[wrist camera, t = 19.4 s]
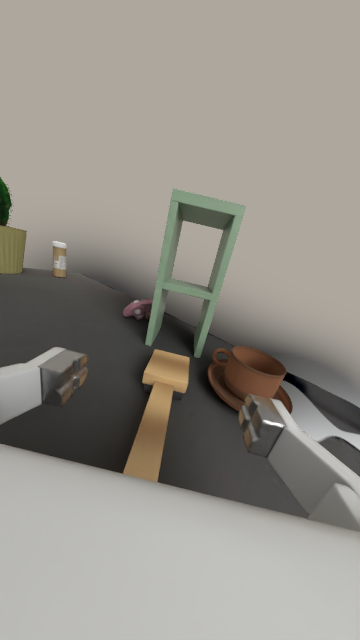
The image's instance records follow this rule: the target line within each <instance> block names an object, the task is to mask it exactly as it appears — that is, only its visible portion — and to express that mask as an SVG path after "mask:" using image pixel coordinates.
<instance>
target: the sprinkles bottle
mask: <svg viewBox="0 0 360 640" xmlns="http://www.w3.org/2000/svg"><path fill="white" fill-rule="evenodd" d="M52 245H53V276H56V277H66V248H67V245H66V244H65V243H61V242H56V241H53V242H52Z"/></svg>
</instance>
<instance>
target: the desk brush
mask: <svg viewBox="0 0 360 640" xmlns="http://www.w3.org/2000/svg"><path fill="white" fill-rule="evenodd" d="M188 375H189V357H185V356H181V355H177V354H173V353H169V352H165V351H161V350H156V349H155V351H154V353H153V355H152V357H151V359H150V361H149V363H148V365H147V367H146V369H145V371H144V375H143V380H142V383H144V387H143V391H145V392H149V393H151V394H150V397H149V400H148V403H147V406H146V409H145V412H144V414H143V417H142V420H141V423H140V426H139V429H138V432H137V435H136V437H135V440H134V443H133V446H132V449H131V452H130V455H129V457H128V460H127V463H126V466H125V469H124V472H123V474H126V475H130V476H134V477H138V478H142V479H146V480H150V481H154V482H158V476H159V470H160V464H161V458H162V453H163V447H164V441H165V435H166V430H167V424H168V418H169V412H170V407H171V401H172V398H173V399H177V400H181V397H182V394H183V393H185V392H186V388H187V385H188Z"/></svg>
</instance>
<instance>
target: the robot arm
mask: <svg viewBox="0 0 360 640" xmlns="http://www.w3.org/2000/svg"><path fill="white" fill-rule="evenodd" d="M87 363H88V356H87V355H86V354H83V353H79V352H75V351H72V350H68V349H64V348H60V347H54V348H52V349H50V350H49V351H47V352H45V353H43V354H41V355H40V356H38V357H36V358H34V359H33V360H31V361H29V362H27V363H25V364H23V363H20V364H15V365H10V366H6V367H1V368H0V424H2V423H4V422H6V421H8V420H10V419H12V418H14V417H16V416H18V415H21V414H23V413H25V412H27V411H29V410H31V409H33V408H35V407H37V406H39V405H41V404H42V403H45V404H50V405H54V406H59V407H62V406H63V405H64V404H65V403H66V402H67V401H68V400H69V399H70V397H71V396H72V391H75V390H77V389H79V388H80V387H81V386H82V385H83V383H84V381H85V380H86V377H87V372H88V369H87V368H86V366H85V365H86V364H87ZM244 401H245V403H246V404H245V405H243V406H242V407H241V408H240V411H239V425H240V428H241V429H242V430H243V432H244V433H245V434H244V436H243V439H244V442H245V445H246V449H247V452H248V453H252V454H256V455H259V456H263V457H266V458H267V460H268V461H269V462H270V464H271V465H272V466H273V468H274V469H275V470H276V472H277V473H278V474H279V476H280V477H281V479H282V480H283V481H284V483H285V484H286V485H287V487H288V488H289V489H290V491H291V492H292V493H293V495H294V496H295V497H296V499H297V500H298V501H299V503H300V504H301V506H302V507H303V508H304V510H305V511H306V512H307V514H308V515H309V516H308V517H307V518H306V519H305V518H301V517H297V516H293V515H289V514H285V513H281V512H277V511H273V510H269V509H265V508H261V507H256V506H252V505H248V504H244V503H240V502H236V501H232V500H228V499H224V498H220V497H215V496H211V495H207V494H203V493H199V492H195V491H191V490H187V489H183V488H179V487H174V486H170V485H166V484H162V483H158V482H154V481H150V480H146V479H142V478H138V477H134V476H130V475H126V474H122V473H118V472H113V471H109V470H105V469H101V468H97V467H93V466H89V465H85V464H81V463H77V462H73V461H69V460H65V459H61V458H57V457H53V456H48V455H44V454H40V453H36V452H32V451H28V450H24V449H20V448H16V447H12V446H8V445H4V444H0V640H360V477H359V476H358V475H356V474H355V473H354V472H353V471H352V470H350V469H349V468H348V467H347V466H345V465H344V464H343V463H342V462H341V461H339V460H338V459H337V458H336V457H334V456H333V455H332V454H331V453H330V452H328V451H327V450H326V449H325V448H324V447H322V446H321V445H320V444H319V443H317V442H316V441H315V440H314V439H312V438H311V437H310V436H309V435H308V434H306V433H305V432H303V431H300V429H299V428H298V426H297V425H296V423H295V422H294V420H293V419H292V417H291V416H290V414H289V413H288V411H287V410H286V408H285V407H284V405H283V404H282V402H281V401H279V400H276V399H271V398H265V397H261V396H256V395H252V394H247V395H246V397H245V399H244Z"/></svg>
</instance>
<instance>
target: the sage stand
mask: <svg viewBox="0 0 360 640" xmlns="http://www.w3.org/2000/svg"><path fill="white" fill-rule="evenodd" d="M245 209H246V206H244V205H240V204H235V203H231V202H227V201H223V200H219V199H215V198H210V197H206V196H202V195H198V194H193V193H190V192H185V191H181V190H177V189H173V192H172V197H171V202H170V208H169V214H168V220H167V225H166V231H165V236H164V242H163V247H162V253H161V259H160V264H159V270H158V276H157V281H156V286H155V292H154V298H153V303H152V309H151V314H150V320H149V326H148V331H147V337H146V342H145V345H148V346H151V345H152V343H153V341H154V340H155V338H156V336H157V334H158V332H159V330H160V329H161V324H162V320H163V315H164V310H165V305H166V300H167V295H168V290H169V291H174V292H178V293H182V294H186V295H190V296H194V297H198V298H202V299H204V302H203V306H202V309H201V313H200V316H199V320H198V324H197V327H196V331H195V334H194V357H197V358H200V356H201V353H202V350H203V346H204V343H205V340H206V336H207V333H208V330H209V327H210V323H211V320H212V317H213V314H214V310H215V307H216V304H217V300H218V297H219V294H220V291H221V287H222V284H223V281H224V278H225V274H226V271H227V268H228V264H229V261H230V258H231V255H232V251H233V248H234V245H235V241H236V238H237V235H238V232H239V229H240V225H241V222H242V219H243V215H244V212H245ZM183 220H184V221H188V222H193V223H196V224H201V225H205V226H209V227H213V228H217V229H221V230H223V234H222V238H221V241H220V245H219V248H218V252H217V255H216V259H215V263H214V266H213V270H212V273H211V277H210V281H209V284H208V287H204V286H200V285H196V284H192V283H188V282H183V281H180V280H175V279H172V278H171V276H172V271H173V266H174V260H175V256H176V251H177V246H178V241H179V236H180V232H181V226H182V222H183Z"/></svg>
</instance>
